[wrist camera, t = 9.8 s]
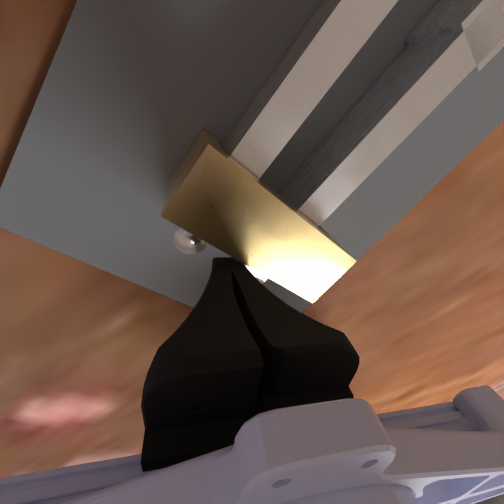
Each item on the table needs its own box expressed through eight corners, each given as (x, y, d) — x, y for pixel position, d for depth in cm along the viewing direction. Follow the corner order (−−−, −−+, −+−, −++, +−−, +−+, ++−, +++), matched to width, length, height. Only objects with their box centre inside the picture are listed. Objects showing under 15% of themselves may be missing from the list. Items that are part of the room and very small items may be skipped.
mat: (-6, 217, 13) (-14, 221, 13) (381, -710, 5) (401, -793, 5) (271, 335, 22) (272, 340, 22) (558, 57, 15) (571, 55, 14)
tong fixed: (166, 216, 14) (161, 241, 12) (400, -127, 9) (476, -210, 7) (199, 234, 15) (201, 262, 13) (425, -64, 10) (500, -117, 8)
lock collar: (170, 177, 13) (160, 216, 9) (203, 128, 12) (208, 143, 8) (282, 252, 17) (312, 303, 13) (313, 218, 16) (356, 261, 12)
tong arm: (223, 248, 16) (229, 276, 13) (448, -11, 11) (521, -42, 9) (249, 264, 17) (259, 293, 14) (464, 32, 12) (534, 16, 10)
